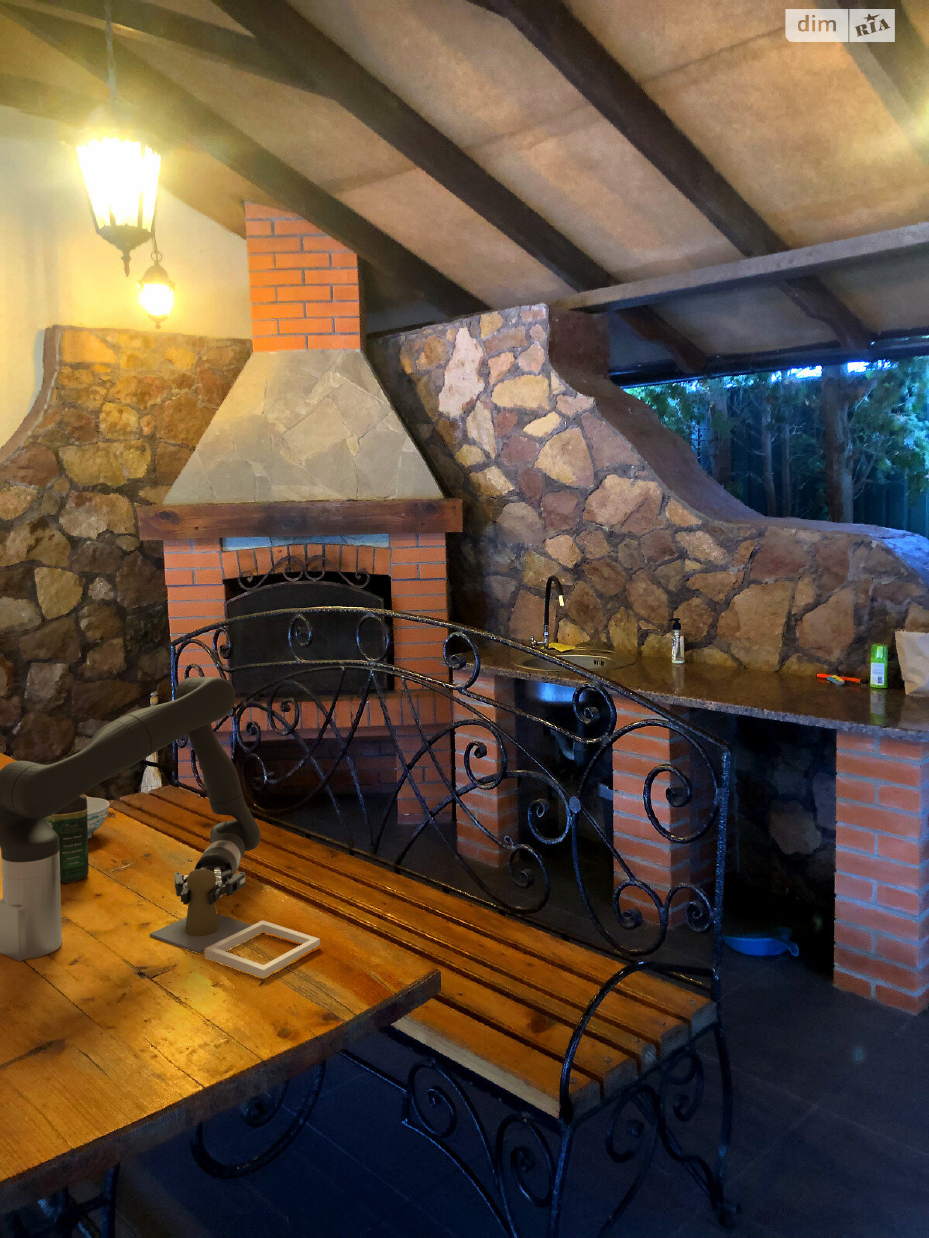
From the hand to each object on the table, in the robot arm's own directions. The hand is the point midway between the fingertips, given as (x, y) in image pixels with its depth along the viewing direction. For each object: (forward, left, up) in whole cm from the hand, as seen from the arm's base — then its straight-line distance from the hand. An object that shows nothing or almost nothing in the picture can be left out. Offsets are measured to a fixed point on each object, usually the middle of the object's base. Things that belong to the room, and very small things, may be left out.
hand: (198, 899), depth 167 cm
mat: (+2, +2, -7) cm, 8 cm away
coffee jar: (+5, +46, -8) cm, 47 cm away
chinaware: (+21, +66, -8) cm, 70 cm away
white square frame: (+2, -14, -7) cm, 16 cm away
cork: (+2, +2, -7) cm, 8 cm away
